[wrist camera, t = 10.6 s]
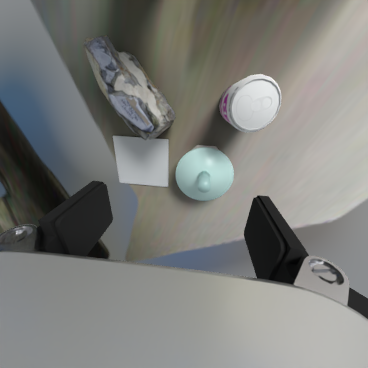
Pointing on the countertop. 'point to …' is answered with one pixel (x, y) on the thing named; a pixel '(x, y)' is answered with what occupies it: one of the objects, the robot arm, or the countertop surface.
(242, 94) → the supplement can
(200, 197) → the lid
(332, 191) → the countertop surface
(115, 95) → the fossil rock
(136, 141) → the mat
